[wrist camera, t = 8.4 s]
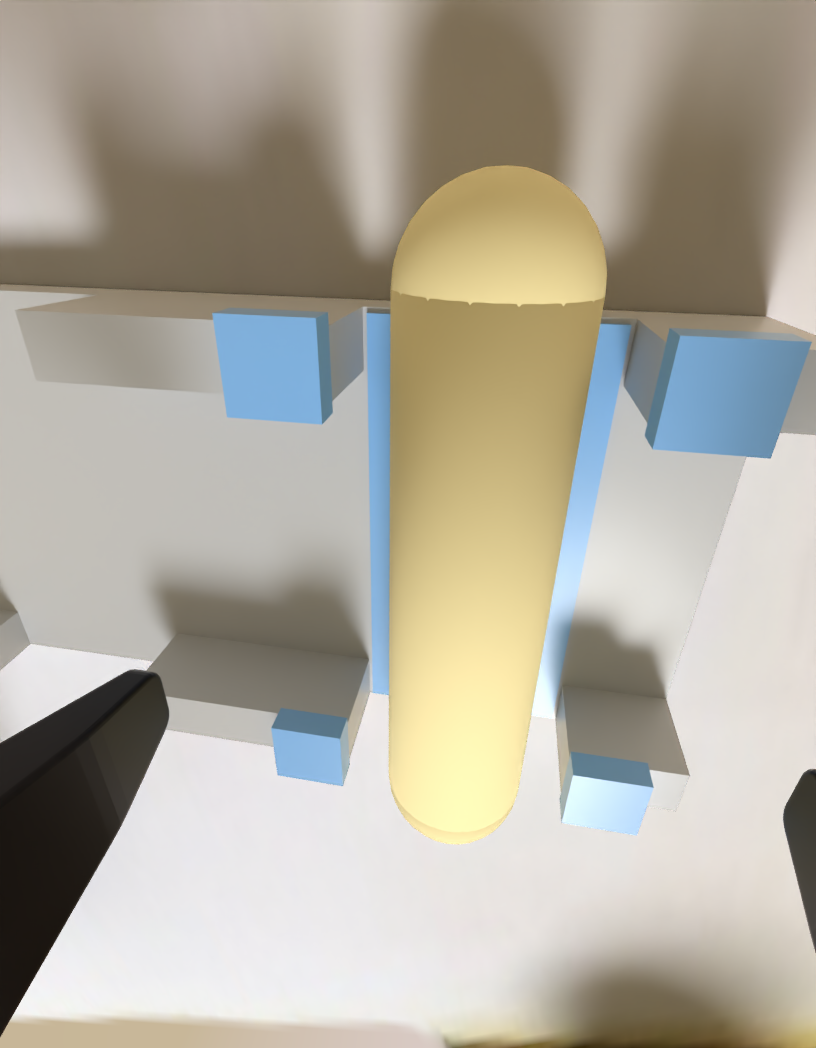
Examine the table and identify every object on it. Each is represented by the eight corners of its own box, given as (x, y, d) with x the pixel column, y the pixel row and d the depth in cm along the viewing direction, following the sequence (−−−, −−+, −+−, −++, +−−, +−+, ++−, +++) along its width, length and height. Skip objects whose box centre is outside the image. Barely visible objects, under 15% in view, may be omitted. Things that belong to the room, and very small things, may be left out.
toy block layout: (0, 620, 18) (-115, 709, 15) (-147, 268, 13) (-370, 285, 10) (645, 708, 15) (680, 842, 12) (770, 305, 10) (889, 345, 7)
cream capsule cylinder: (510, 766, 16) (512, 883, 13) (399, 751, 16) (377, 861, 13) (606, 174, 9) (654, 154, 6) (409, 172, 9) (369, 153, 7)
